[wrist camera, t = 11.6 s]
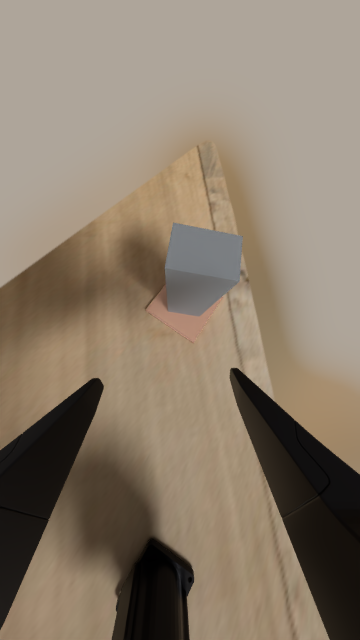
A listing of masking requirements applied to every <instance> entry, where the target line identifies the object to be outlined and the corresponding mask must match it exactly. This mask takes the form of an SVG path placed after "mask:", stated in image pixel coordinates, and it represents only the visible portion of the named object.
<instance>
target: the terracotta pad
mask: <svg viewBox="0 0 360 640" xmlns="http://www.w3.org/2000/svg"><path fill="white" fill-rule="evenodd" d="M222 298H223V297H221V298H220V299H219V300H218V301H216V302H215V303H214V304H213V305H212V306H211V307H210V308H208V309H207V310H206V311H205V312H204V313H203V314H202V315H200V316H193V315H187V314H180V313H174V312H168V304H167V291H166V284H165V285H164V287H163V288H162V289H161V291H160V292H159V293H158V294H157V296H156V297H155V298H154V300H153V301H152V302H151V304H150V305H149V306H148V308H147V309H146V311H147V312H148V313H150V314H151V315H153V316H154V317H156V318H157V319H159V320H160V321H162V322H163V323H164V324H166V325H167V326H169V327H170V328H172V329H173V330H175V331H176V332H178V333H179V334H181V335H182V336H183V337H185V338H186V339H188V340H189V341H191V342H192V343H194V342H195V340H196V339H197V337H198V336H199V334H200V332H201V331H202V329H203V328H204V326H205V325H206V323H207V321H208V320H209V318H210V317H211V315H212V314H213V312H214V311H215V309H216V307H217V306H218V304H219V303H220V301H221V300H222Z"/></svg>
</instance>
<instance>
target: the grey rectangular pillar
mask: <svg viewBox="0 0 360 640" xmlns="http://www.w3.org/2000/svg"><path fill="white" fill-rule="evenodd" d="M242 238H243V236H239V235H234V234H228V233H223V232H218V231H213V230H208V229H203V228H198V227H193V226H188V225H183V224H178V223H173V227H172V232H171V237H170V242H169V248H168V253H167V258H166V264H165V278H166V291H167V304H168V312H174V313H180V314H187V315H193V316H200V315H202V314H203V313H204V312H205V311H206V310H207V309H208V308H210V307H211V306H212V305H213V304H214V303H215V302H216V301H218V300H219V299H220V298H221V297H222V296H223V295H224V294H226V293H227V292H228V291H229V290H230V289H231V288H232V287H234V286H235V285H236V284H237V283H238V282H239V280H240V266H241V252H242Z"/></svg>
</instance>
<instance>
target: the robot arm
mask: <svg viewBox="0 0 360 640" xmlns="http://www.w3.org/2000/svg"><path fill="white" fill-rule="evenodd" d="M230 382H231V385H232V389H233V392H234V396H235V399H236V403H237V406H238V408H239V411H240V414H241V416H242V419H243V421H244V424H245V426H246V429H247V431H248V434H249V436H250V439H251V441H252V444H253V446H254V449H255V452H256V454H257V457H258V459H259V462H260V464H261V467H262V469H263V472H264V474H265V477H266V479H267V482H268V484H269V487H270V490H271V492H272V495H273V497H274V500H275V502H276V505H277V507H278V510H279V512H280V515H281V517H282V520H283V523H284V525H285V528H286V530H287V533H288V535H289V538H290V540H291V543H292V545H293V548H294V551H295V553H296V556H297V558H298V561H299V563H300V566H301V568H302V571H303V573H304V576H305V578H306V581H307V583H308V586H309V589H310V591H311V594H312V596H313V599H314V601H315V604H316V606H317V609H318V611H319V614H320V616H321V619H322V621H323V624H324V627H325V629H326V632H327V634H328V636H329V639H330V640H360V474H358V473H357V472H356V471H355V470H353V469H352V468H351V467H350V466H348V465H347V464H346V463H345V462H343V461H342V460H341V459H340V458H339V457H337V456H336V455H335V454H333V453H332V452H331V451H330V450H329V449H327V448H326V447H325V446H324V445H323V444H322V443H320V442H319V441H318V440H317V439H316V438H315V437H313V436H312V435H311V434H310V433H309V432H307V430H305V429H304V428H303V427H302V426H301V425H300V424H299V423H298V422H296V421H294V419H293V418H292V417H291V416H290V415H289V414H288V413H287V412H285V411H284V410H283V409H282V408H281V407H280V406H279V405H278V404H277V403H276V402H274V401H273V400H272V399H271V398H270V397H269V396H268V395H267V394H266V393H264V392H263V391H262V390H261V389H260V388H259V387H258V386H257V385H256V384H255V383H253V382H252V381H251V380H250V379H249V378H248V377H247V376H246V375H245V374H243V373H242V372H241V371H240V370H239V369H238V368H231V369H230ZM103 388H104V386H103V384H102V382H101V380H100V379H99V378H93V379H91V380H90V381H88V382H87V383H86V384H85V385H83V386H82V387H81V388H79V389H78V390H77V391H76V392H74V393H73V394H72V395H71V396H69V397H68V398H67V399H65V400H64V401H63V402H62V403H60V404H59V405H58V406H56V407H55V408H54V409H53V410H51V411H50V412H49V413H48V414H46V415H45V416H44V417H42V418H41V419H40V420H39V421H37V422H36V423H35V424H34V425H32V426H31V427H30V428H28V429H27V430H26V431H25V432H23V434H21V435H19V436H18V437H17V438H16V439H14V440H13V441H12V442H11V443H9V444H8V445H7V446H5V447H4V448H3V449H1V450H0V629H1V627H2V625H3V623H4V621H5V619H6V617H7V615H8V613H9V610H10V608H11V606H12V603H13V601H14V599H15V597H16V594H17V592H18V590H19V587H20V585H21V583H22V580H23V578H24V576H25V574H26V571H27V569H28V567H29V564H30V562H31V560H32V557H33V555H34V553H35V551H36V548H37V546H38V544H39V541H40V539H41V537H42V534H43V532H44V530H45V528H46V525H47V523H48V521H49V520H48V519H49V518H50V516H51V514H52V511H53V509H54V507H55V504H56V502H57V500H58V497H59V495H60V493H61V491H62V488H63V486H64V484H65V481H66V479H67V477H68V475H69V472H70V470H71V468H72V465H73V463H74V461H75V458H76V456H77V454H78V452H79V449H80V447H81V445H82V442H83V440H84V438H85V435H86V433H87V431H88V429H89V426H90V424H91V422H92V419H93V417H94V415H95V412H96V409H97V406H98V404H99V401H100V398H101V395H102V392H103ZM193 583H194V572H193V570H192V568H190V567H189V566H188V565H186V564H185V563H184V562H182V561H181V560H180V559H178V558H177V557H176V556H174V555H173V554H172V553H170V552H169V551H168V550H167V549H165V548H164V547H163V546H161V545H160V544H159V543H157V542H156V541H155V540H153V539H151V540H149V541H148V543H147V545H146V547H145V549H144V550H143V552H142V554H141V556H140V558H139V560H138V561H137V562H136V563H135V565H134V567H133V568H132V570H131V572H130V574H129V576H128V578H127V580H126V581H125V583H124V585H123V587H122V590H121V593H120V595H119V597H118V600H117V605H116V611H117V615H116V620H115V625H114V631H113V636H112V640H190V639H189V623H188V607H187V596H188V594H189V591H190V589H191V587H192V585H193Z"/></svg>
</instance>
